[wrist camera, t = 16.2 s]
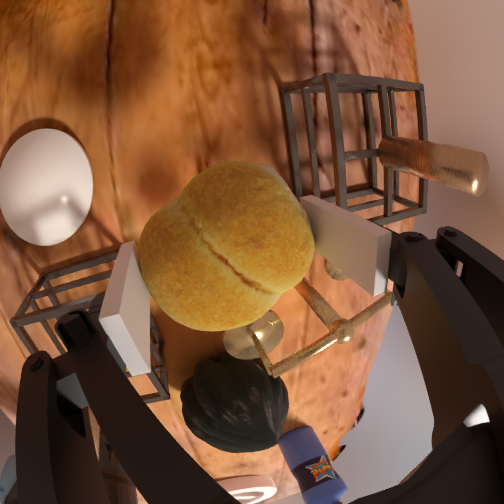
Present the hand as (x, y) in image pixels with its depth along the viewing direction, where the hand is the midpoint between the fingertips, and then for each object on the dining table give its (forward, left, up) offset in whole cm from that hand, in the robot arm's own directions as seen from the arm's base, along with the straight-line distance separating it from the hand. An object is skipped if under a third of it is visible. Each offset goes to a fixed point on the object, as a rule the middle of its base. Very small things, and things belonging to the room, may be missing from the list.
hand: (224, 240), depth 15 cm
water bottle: (+7, -59, -15) cm, 61 cm away
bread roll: (0, 0, -1) cm, 1 cm away
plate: (-16, +5, -14) cm, 22 cm away
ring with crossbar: (-16, -90, -15) cm, 92 cm away
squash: (-3, -27, -15) cm, 31 cm away
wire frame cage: (+16, +2, -14) cm, 22 cm away
